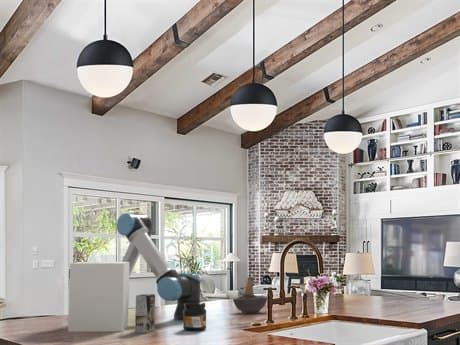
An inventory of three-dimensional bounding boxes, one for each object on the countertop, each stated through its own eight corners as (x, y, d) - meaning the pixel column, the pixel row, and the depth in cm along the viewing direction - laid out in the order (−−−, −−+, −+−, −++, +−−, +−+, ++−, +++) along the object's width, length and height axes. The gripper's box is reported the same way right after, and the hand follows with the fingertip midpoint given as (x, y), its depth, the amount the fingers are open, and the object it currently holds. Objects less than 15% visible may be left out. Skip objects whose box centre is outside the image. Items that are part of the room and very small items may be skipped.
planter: (269, 312, 354) (269, 276, 356) (254, 315, 340) (254, 277, 342) (246, 310, 362) (246, 275, 364) (231, 313, 348) (231, 277, 350)
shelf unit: (128, 325, 298) (129, 261, 301) (122, 331, 277) (123, 263, 280) (77, 325, 297) (79, 261, 300) (68, 331, 276) (70, 263, 280)
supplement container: (197, 332, 275) (197, 304, 276) (178, 330, 281) (178, 303, 282) (210, 329, 284) (210, 302, 285) (191, 327, 290) (192, 301, 291)
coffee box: (148, 333, 272) (149, 295, 274) (134, 332, 274) (135, 295, 276) (155, 330, 281) (155, 293, 283) (141, 329, 283) (142, 293, 284)
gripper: (126, 300, 320) (121, 279, 302) (93, 300, 320) (85, 279, 301) (127, 287, 325) (122, 265, 306) (94, 286, 324) (87, 265, 306)
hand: (104, 272), depth 304 cm, fingers closed on slate carton, 4 cm apart
